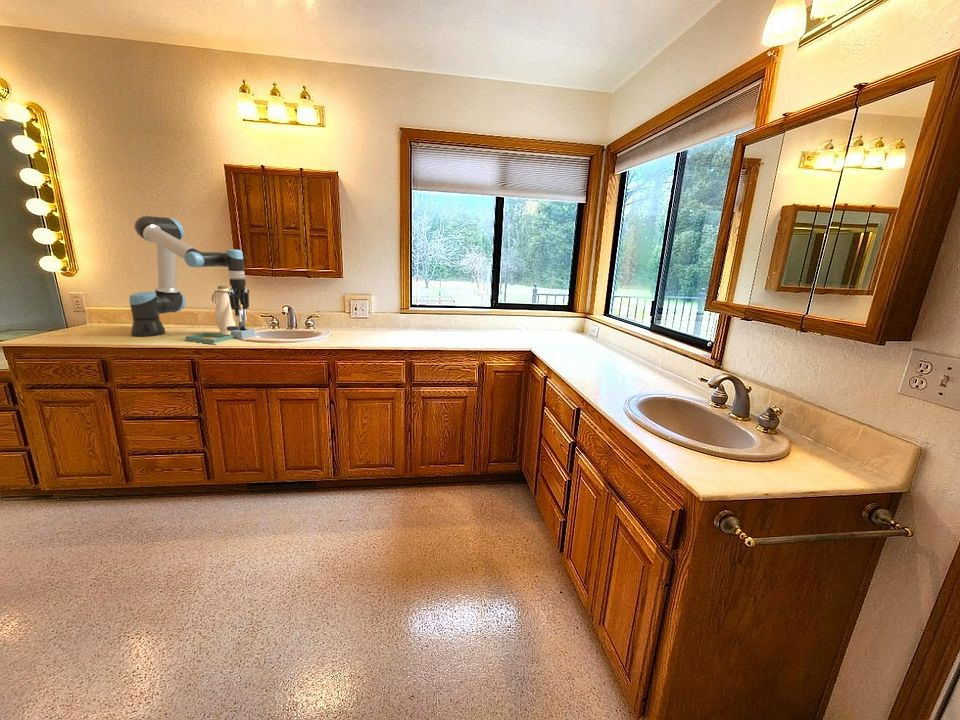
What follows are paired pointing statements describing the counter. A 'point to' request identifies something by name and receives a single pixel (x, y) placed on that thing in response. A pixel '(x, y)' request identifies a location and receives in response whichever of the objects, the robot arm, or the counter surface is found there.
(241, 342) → the counter surface
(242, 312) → the lock pin
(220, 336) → the tray
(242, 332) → the tensioner block
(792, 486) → the counter surface
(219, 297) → the water bottle
